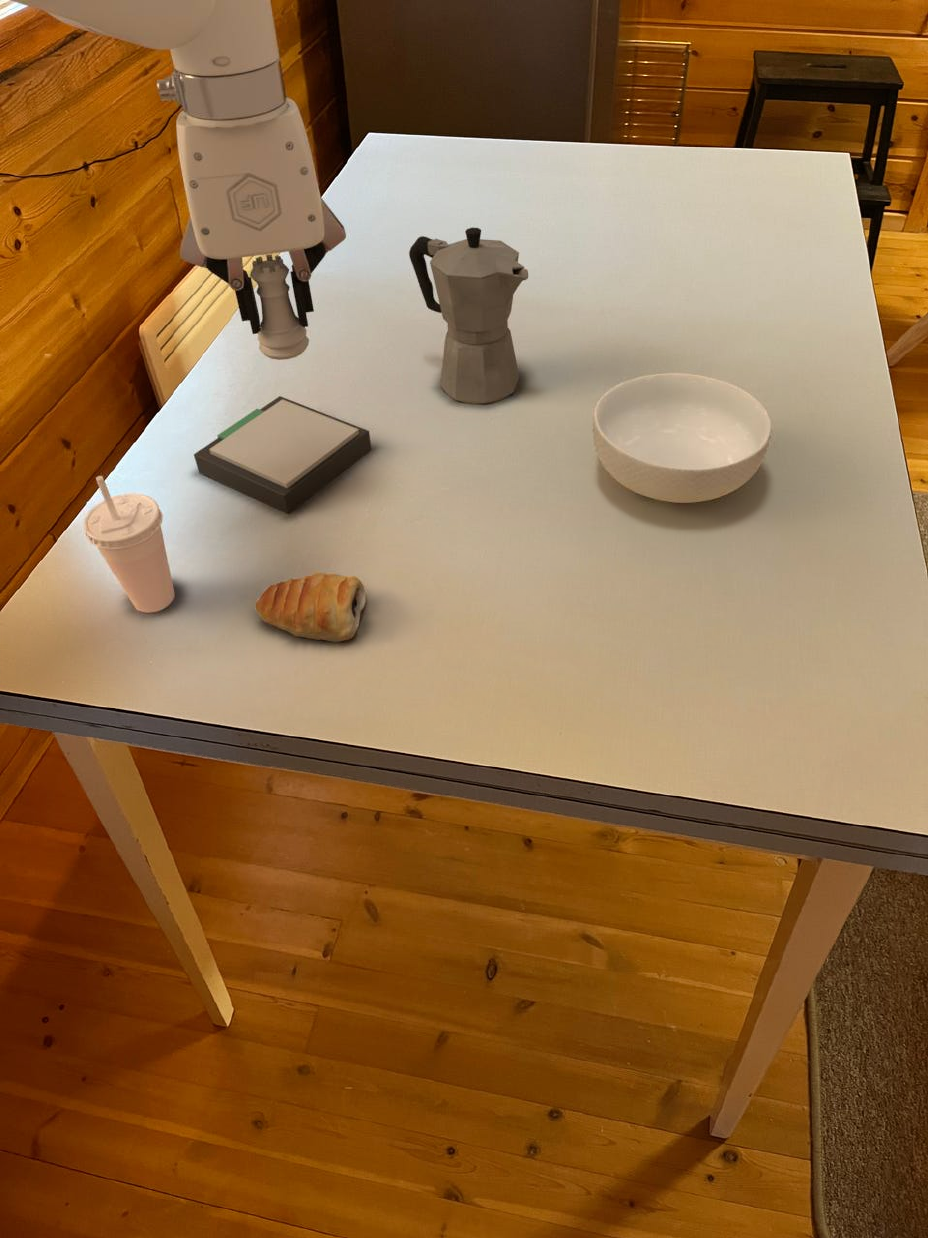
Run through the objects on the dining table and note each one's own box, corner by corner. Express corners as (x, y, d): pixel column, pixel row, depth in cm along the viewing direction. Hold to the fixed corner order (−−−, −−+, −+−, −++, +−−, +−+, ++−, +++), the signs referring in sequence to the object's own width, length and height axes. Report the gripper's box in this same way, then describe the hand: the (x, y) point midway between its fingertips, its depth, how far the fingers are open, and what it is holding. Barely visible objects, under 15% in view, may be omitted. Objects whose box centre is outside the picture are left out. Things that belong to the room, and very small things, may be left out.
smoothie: (103, 610, 84) (46, 486, 74) (150, 566, 88) (102, 443, 78) (157, 632, 82) (106, 507, 72) (203, 586, 85) (161, 461, 75)
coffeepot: (550, 381, 107) (552, 225, 94) (502, 420, 102) (498, 260, 89) (445, 345, 114) (434, 195, 101) (396, 380, 109) (378, 226, 96)
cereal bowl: (795, 497, 90) (811, 436, 85) (650, 551, 86) (658, 490, 81) (692, 412, 101) (701, 353, 96) (559, 456, 97) (561, 397, 92)
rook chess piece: (315, 336, 84) (300, 249, 78) (302, 362, 81) (285, 273, 75) (268, 335, 84) (249, 248, 79) (253, 360, 81) (233, 272, 76)
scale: (199, 473, 98) (191, 449, 96) (283, 414, 105) (278, 390, 103) (288, 514, 92) (283, 490, 90) (371, 449, 99) (368, 425, 97)
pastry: (250, 640, 80) (241, 609, 78) (270, 587, 85) (262, 556, 82) (356, 646, 79) (350, 614, 77) (371, 591, 84) (365, 560, 81)
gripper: (114, 119, 64) (183, 357, 77) (351, 92, 66) (379, 330, 79) (120, 87, 69) (184, 316, 82) (340, 63, 71) (368, 291, 84)
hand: (279, 321), depth 81 cm, fingers closed on rook chess piece, 3 cm apart
